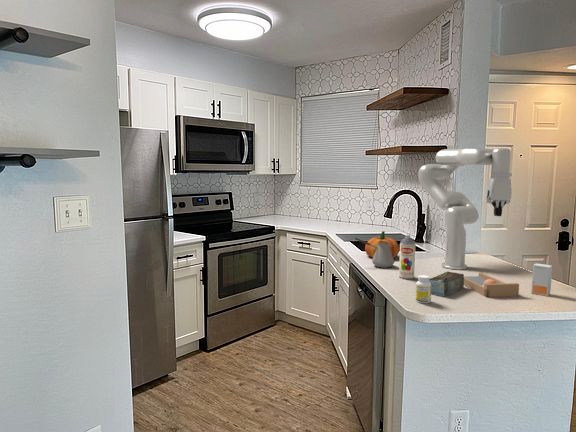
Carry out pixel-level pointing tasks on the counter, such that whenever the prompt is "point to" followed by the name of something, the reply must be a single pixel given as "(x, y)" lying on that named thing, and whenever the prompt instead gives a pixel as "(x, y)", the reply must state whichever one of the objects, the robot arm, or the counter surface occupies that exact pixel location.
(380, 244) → the coffee pot
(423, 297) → the supplement bottle
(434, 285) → the beverage carton
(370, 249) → the pumpkin
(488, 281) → the ball
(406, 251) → the aerosol can
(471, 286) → the lane
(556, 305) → the counter surface
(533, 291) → the skincare box
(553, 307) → the counter surface
